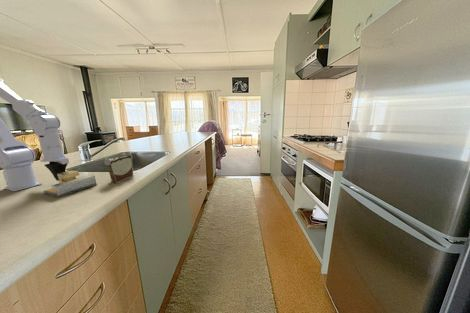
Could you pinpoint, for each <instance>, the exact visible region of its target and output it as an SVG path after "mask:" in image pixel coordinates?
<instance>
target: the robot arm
mask: <svg viewBox="0 0 470 313" xmlns="http://www.w3.org/2000/svg"><path fill="white" fill-rule="evenodd" d="M0 98H1V99H2V100H4V101H6V102H7V103H9V104H11V105H12V108H11V109H12V110H13V111H14V112H16V113H17V114H18V115H19V116H21V117H22V118H24V119H25V120H26V121H28V125H29V126H30V128H31V129H32V131H34V134H35V135H36V136H37V138H38V141H39V144H40V148H41V152H42V155H43V156H42V157H41V159H40V161H39V162H42V163H46V164H44V167H45V168H47V169H48V170H49V172H50V173H51V174H52V176H53V178H54V179H55V181H57V182H59V179H58V176H57V174H58V173H62V172H66V169H67V166H68V165H69V164H70V160H69V157H66V156H65V153H64V149H63V144H62V141H61V137H60V133H59V130H58V129H59V128H60V127H61V120H60V119H59V117H57V115H55V114H53V113H52V114H51V113H47V112H46V111H45V110H44V109H41V107H38V106H37V105H36V104H35V102H34V101H32V100H29V99H23V98H22V97H20V96H19V95H18V94H17V93H16V92H15V91H14V90H12V89H11V88H10V87H8V85H6V82H5V80H4V79H3V78H2V77H0ZM10 130H11V129H10V128H9V127H8V125H7V124H6V123H5V121H4V120H3V118H2V117H1V116H0V169H3V171H2V174H3V175H2V176H3V178H4V180H5V184H6V186H4V187H3V189H5V190H8V191H12V192H17V191H21V190H25V189H28V188H32V187H33V188H34V187H35V186H40V185H42V184H43V183H42V182H39V181H37V178H36V175H35V171H34V168H33V163H34V160H35V158H36V153H35V151H34V150H33V149H32V148H31V147H29V146H28V144H27V143H25V142H24V141H21V140H18V139H16V138H15V136H14V134H13V133H12V132H11V131H10ZM47 162H48V163H47Z"/></svg>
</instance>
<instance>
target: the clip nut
mask: <svg viewBox="0 0 470 313" xmlns="http://www.w3.org/2000/svg"><path fill="white" fill-rule="evenodd" d="M57 176H58V179H59V181H58V184H59V183H62V182H66V181H69V180H73V179H76V178H77V177H78V176H80V172H79V171H78V170H67V171H65V172H62V173H58V174H57ZM76 176H77V177H76Z"/></svg>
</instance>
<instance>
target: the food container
mask: <svg viewBox="0 0 470 313" xmlns="http://www.w3.org/2000/svg"><path fill="white" fill-rule="evenodd" d="M133 158H134V157H133V154H132V153H123V154H117V155H112V156H108V157H106V158H104V163H103V164H104V165H105V166H106V167H107V170H108V173H109V176H110V180H111V182H112V183H113V184H117V183H120V182H122V180H123V181H124V180H127V179H129V178H131V176H132V177H133V176H134V168H133V166H134V165H133Z"/></svg>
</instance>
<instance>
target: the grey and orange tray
mask: <svg viewBox="0 0 470 313" xmlns="http://www.w3.org/2000/svg"><path fill="white" fill-rule="evenodd" d="M97 185H98V184H97V179H96V175H94V174H93V175H91V174H87V175H84V176H81V177H76V179H73V180H69V181H66V182H62V183H59V182H58V183H56V184H55V183H54V184H51V185H50V187H51V188H50V189H46V190H43V194H44V195H48V196H52V197H55V198H62V197H65V196H68V195H71V194H74V193H78V192H80V191H83V190H86V189H89V188H92V187H94V186H97Z"/></svg>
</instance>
